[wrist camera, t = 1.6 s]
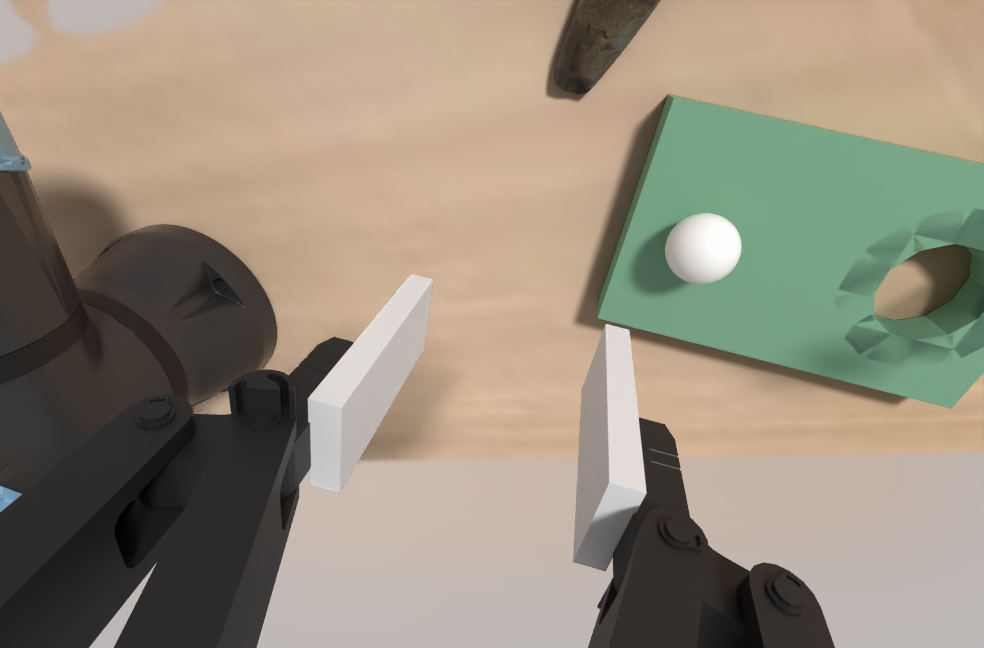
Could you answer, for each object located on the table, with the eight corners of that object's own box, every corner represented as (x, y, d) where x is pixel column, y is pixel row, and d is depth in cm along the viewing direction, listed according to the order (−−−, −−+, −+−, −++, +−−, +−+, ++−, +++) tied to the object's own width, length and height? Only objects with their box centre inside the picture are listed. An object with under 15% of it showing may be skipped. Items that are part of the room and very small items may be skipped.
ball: (651, 259, 31) (658, 285, 27) (675, 197, 28) (686, 217, 25) (715, 274, 30) (730, 303, 27) (744, 213, 28) (764, 236, 25)
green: (597, 301, 35) (596, 469, 21) (668, 94, 28) (737, 140, 14) (929, 385, 34) (1165, 627, 20) (1094, 188, 27) (1655, 347, 12)
